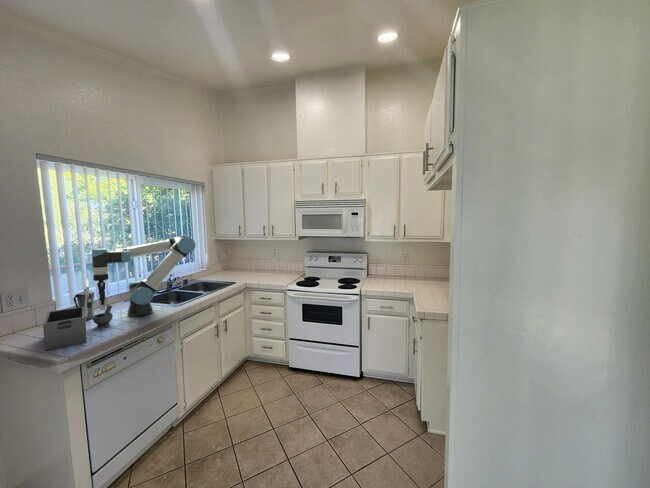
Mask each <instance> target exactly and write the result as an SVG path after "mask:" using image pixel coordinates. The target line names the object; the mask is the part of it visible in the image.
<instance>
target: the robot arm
mask: <svg viewBox="0 0 650 488" xmlns="http://www.w3.org/2000/svg"><path fill="white" fill-rule="evenodd" d="M195 248H196V242H195V240H194V239H193V238H192V237H190V236H189V235H178V236H175V237H171V238H167V239H166V240H162V241H157V242H151V243H147V244H140V245H136V246H128V247H123V248H116V249H114V250H112V251H110V250H109V251H108V248H93V249H92V251H91V261H92V268H91V271H92V274H93V276H92V277H93V278H92V279H93V281H95V282H96V283H97V284H96V286H97V289H98V301H99V302H98V304H99V309H100V311H106V309H107V305H106V298H107V297H106V282H105V281H107V280H109V264H120V263H122V264H123V263H124V264H125V263H130V262H131V259H133V258H138V257H143V256H144V257H145V256H148V255H153V254H155V255H156V254H158V253H164V252H168V253H167V255H166V256H165V257H164V258H163V260H161V262H160V263H158V265H157V266H156V267H155V268H154V270H152V272H151V273H150V274H149V275H148V277H147V278H146V279H141V280H138V281H131V282H129V283H128V292H129V306H128V310H127V316H128V317H130V318H131V317H133V318H137V317H143V316H149V315H151V314H152V313H153V312H154V310H153V306H152V303H151V301H152V300H153V299H154V295H155V294H156V293H157V292H158V290H159V289H158V287H159V286H160V284H161V283H162V282H163V281H164V279H166V278H167V276H168V275H169V274H170V273H171V271H172V270H173V269H174V268H175V267H176V266H177V264H178V263H179V262H180V261H181V260H183V259H185V258H186V257H187V256H189V254H190V253H192V252H194V250H195Z"/></svg>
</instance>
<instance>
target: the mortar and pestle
mask: <svg viewBox="0 0 650 488" xmlns="http://www.w3.org/2000/svg"><path fill="white" fill-rule="evenodd" d="M112 308H113V305H106V310H104V312H101V313H97V314H94V316H93V318H92V320H93V323H94V324H96V327H97V329H99V328H100V329H103V328H107V327H109V326H110V322H111V321H112V319H113V313H112V312H111V309H112Z"/></svg>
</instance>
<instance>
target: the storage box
mask: <svg viewBox="0 0 650 488" xmlns="http://www.w3.org/2000/svg"><path fill="white" fill-rule="evenodd" d="M42 328H43V331H42V332H43V340H44V341H43V342H44V343H43V344H44V351H45V352H47V351H52V350H57V349H63V348H66V347H67V348H68V347H73V346H77V345H81V344H86V343H88V342H87V341H88V340H87V339H88V338H87V336H88V335H87V320H86V317H85V306H84V307H79V306H78V308H76V307H74V308H73V307H72V308H65V309H64V308H63V309H57V310H52V311H51V310H50V311H47V313H46V315H45V317H44V321H43V323H42Z"/></svg>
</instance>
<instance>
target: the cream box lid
mask: <svg viewBox="0 0 650 488" xmlns="http://www.w3.org/2000/svg"><path fill="white" fill-rule="evenodd" d="M89 282H90V281H89V278H85V288H84V289H85V317H88V308H92V307H93V306H92V299H88V298H89V292H90V283H89Z"/></svg>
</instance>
